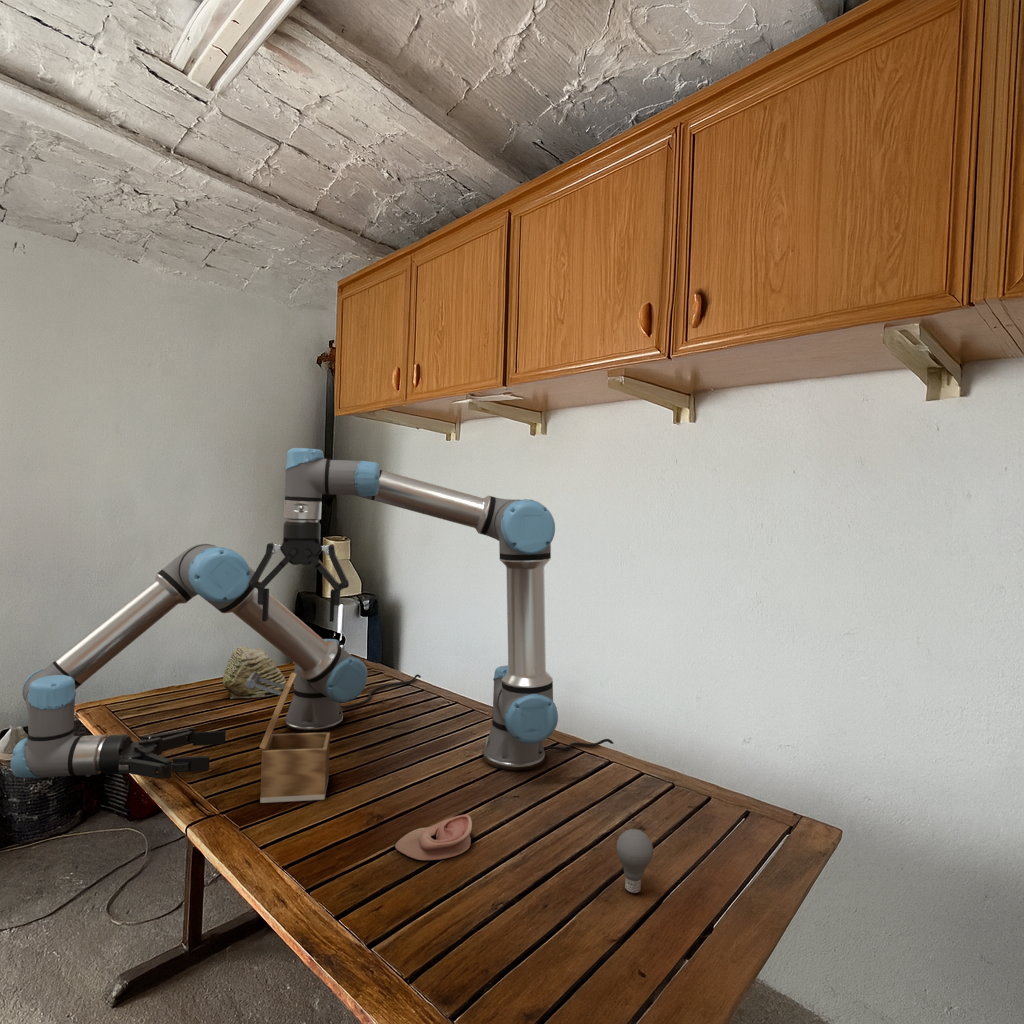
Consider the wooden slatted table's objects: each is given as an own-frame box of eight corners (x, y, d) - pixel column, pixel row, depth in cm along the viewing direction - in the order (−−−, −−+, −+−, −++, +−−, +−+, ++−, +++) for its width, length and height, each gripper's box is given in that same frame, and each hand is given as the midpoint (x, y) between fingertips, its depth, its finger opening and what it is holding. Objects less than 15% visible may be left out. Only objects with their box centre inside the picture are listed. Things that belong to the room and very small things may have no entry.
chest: (328, 779, 142) (330, 732, 142) (324, 799, 133) (326, 749, 132) (268, 781, 140) (269, 734, 139) (259, 802, 130) (261, 751, 130)
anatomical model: (389, 833, 113) (412, 803, 124) (388, 855, 113) (411, 823, 124) (460, 844, 110) (477, 813, 121) (459, 867, 110) (476, 833, 121)
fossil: (218, 695, 195) (220, 647, 195) (278, 685, 208) (279, 640, 207) (228, 703, 189) (230, 653, 188) (289, 692, 201) (290, 645, 201)
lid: (296, 673, 140) (257, 660, 138) (290, 686, 131) (248, 672, 129) (272, 732, 139) (233, 719, 138) (264, 749, 130) (222, 736, 128)
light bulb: (610, 879, 108) (613, 822, 108) (644, 879, 109) (647, 822, 109) (619, 902, 102) (622, 840, 102) (655, 901, 103) (658, 840, 103)
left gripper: (128, 748, 141) (230, 744, 145) (75, 802, 116) (200, 795, 120) (129, 715, 140) (231, 711, 145) (76, 762, 116) (201, 756, 120)
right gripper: (236, 519, 129) (232, 623, 129) (362, 523, 134) (358, 623, 134) (243, 518, 136) (240, 616, 136) (363, 522, 141) (359, 617, 142)
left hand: (217, 749), depth 133 cm, fingers open, 13 cm apart
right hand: (298, 620), depth 135 cm, fingers open, 13 cm apart
